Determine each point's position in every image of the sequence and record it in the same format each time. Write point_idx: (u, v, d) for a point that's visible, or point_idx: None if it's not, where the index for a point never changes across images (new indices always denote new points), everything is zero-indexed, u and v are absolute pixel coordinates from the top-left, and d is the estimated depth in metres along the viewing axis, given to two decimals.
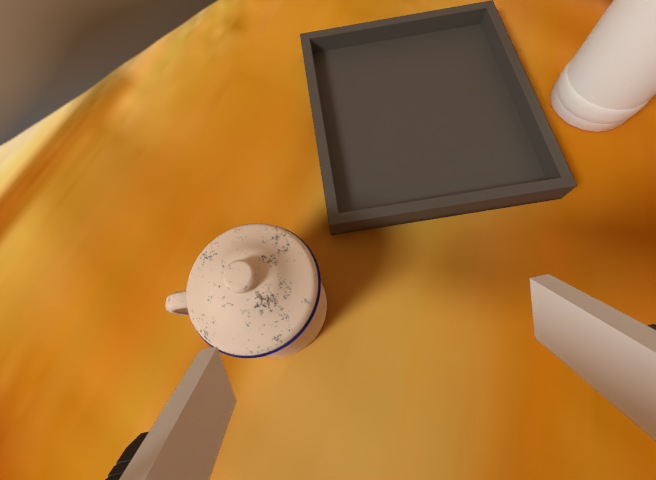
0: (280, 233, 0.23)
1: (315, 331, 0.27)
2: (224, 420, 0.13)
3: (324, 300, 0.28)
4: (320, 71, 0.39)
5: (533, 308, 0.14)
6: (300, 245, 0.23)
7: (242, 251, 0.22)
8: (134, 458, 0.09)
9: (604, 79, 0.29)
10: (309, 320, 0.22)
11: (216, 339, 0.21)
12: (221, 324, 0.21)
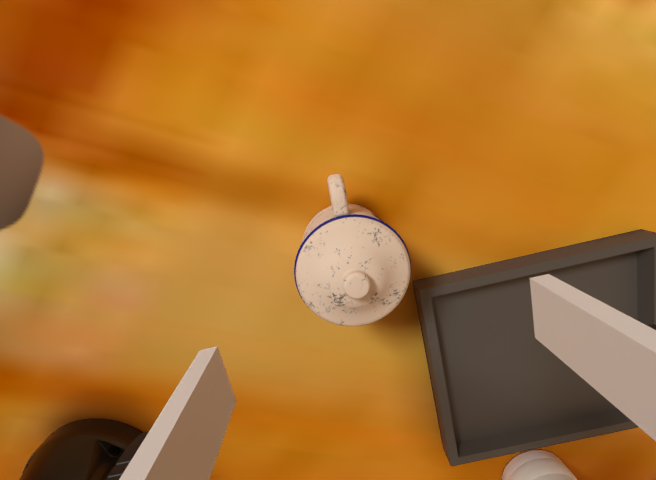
0: (400, 294, 0.26)
1: None
2: (224, 420, 0.13)
3: None
4: None
5: (533, 309, 0.14)
6: (389, 311, 0.27)
7: (380, 275, 0.24)
8: (134, 458, 0.09)
9: None
10: (328, 320, 0.27)
11: (305, 257, 0.25)
12: (317, 262, 0.25)
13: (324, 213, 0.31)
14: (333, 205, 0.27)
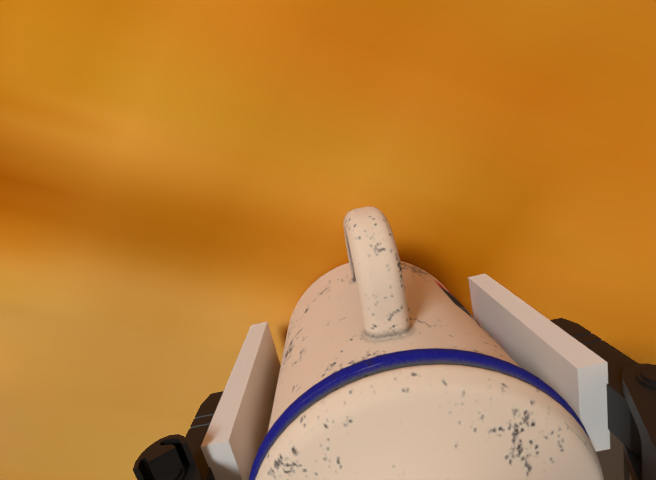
0: None
1: None
2: None
3: None
4: None
5: (473, 305, 0.15)
6: None
7: None
8: (218, 408, 0.10)
9: None
10: None
11: None
12: None
13: (334, 292, 0.13)
14: (364, 306, 0.09)
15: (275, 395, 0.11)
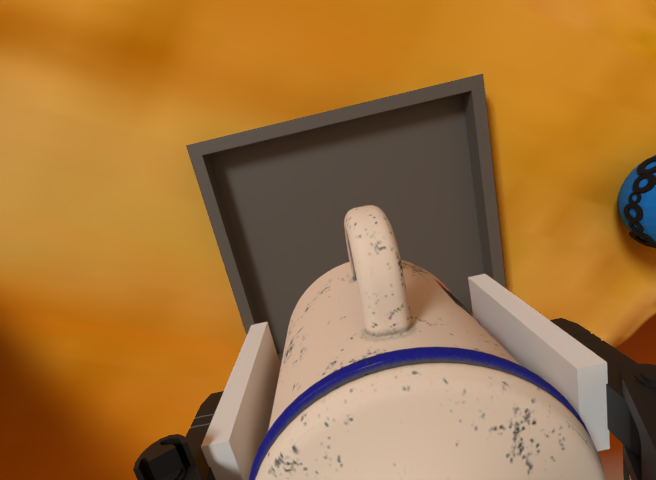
0: None
1: None
2: (276, 387, 0.14)
3: None
4: (427, 111, 0.29)
5: (473, 305, 0.15)
6: None
7: None
8: (218, 408, 0.10)
9: None
10: None
11: None
12: None
13: (334, 291, 0.13)
14: (365, 305, 0.09)
15: (275, 394, 0.11)
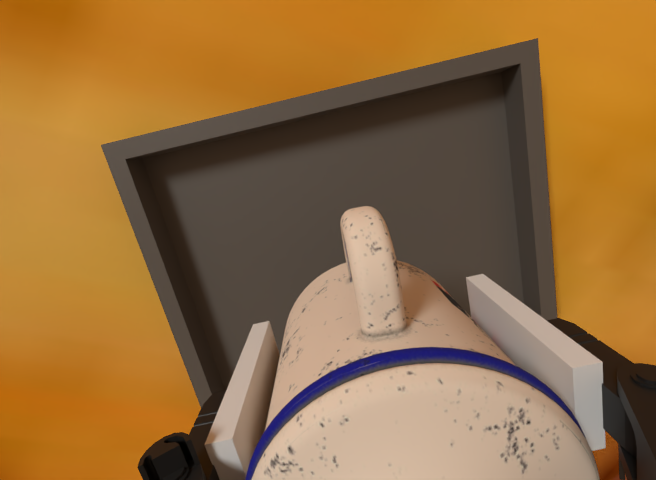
0: None
1: None
2: None
3: None
4: (452, 95, 0.20)
5: (470, 305, 0.15)
6: None
7: None
8: (221, 406, 0.10)
9: None
10: None
11: None
12: None
13: (331, 292, 0.13)
14: (361, 305, 0.09)
15: (272, 395, 0.11)
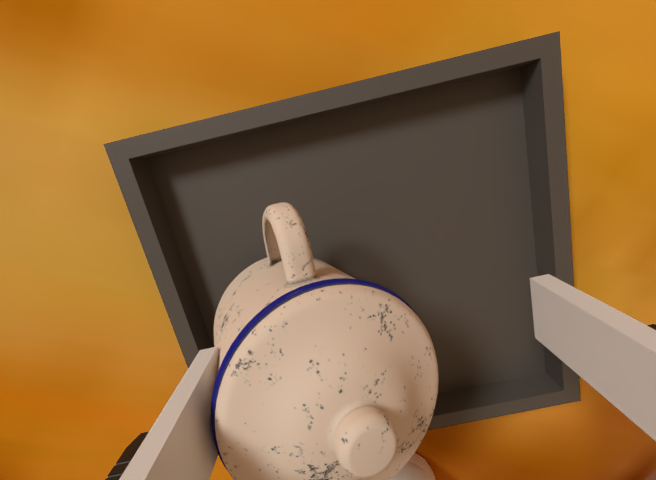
0: (426, 423, 0.14)
1: None
2: None
3: None
4: (467, 92, 0.19)
5: (533, 308, 0.14)
6: (408, 460, 0.14)
7: (403, 402, 0.12)
8: (134, 458, 0.09)
9: None
10: None
11: (238, 389, 0.11)
12: (268, 397, 0.11)
13: (256, 275, 0.17)
14: (286, 263, 0.13)
15: None
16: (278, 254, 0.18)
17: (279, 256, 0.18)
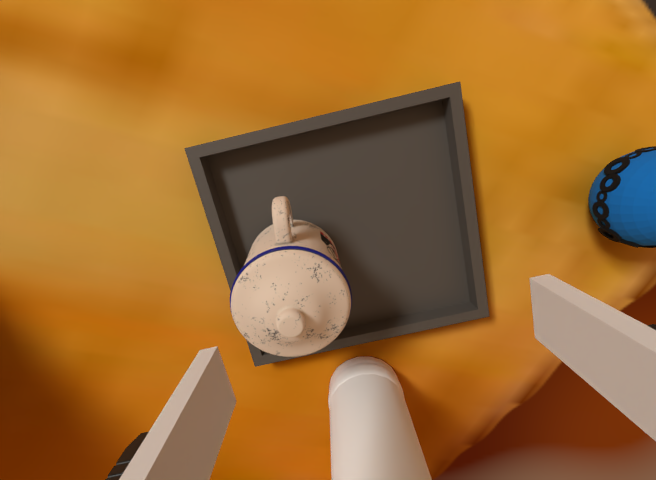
0: (338, 328, 0.26)
1: None
2: (224, 420, 0.13)
3: None
4: (410, 115, 0.31)
5: (533, 309, 0.14)
6: (326, 344, 0.26)
7: (317, 312, 0.24)
8: (134, 458, 0.09)
9: (341, 402, 0.32)
10: None
11: (240, 289, 0.24)
12: (252, 295, 0.24)
13: (270, 232, 0.29)
14: (275, 232, 0.25)
15: None
16: None
17: None
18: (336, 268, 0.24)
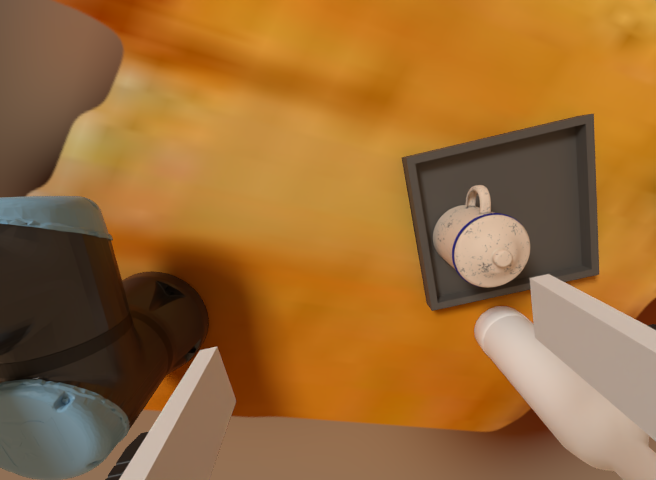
0: (521, 268, 0.40)
1: None
2: (224, 420, 0.13)
3: None
4: (552, 135, 0.45)
5: (533, 308, 0.14)
6: (512, 279, 0.40)
7: (515, 253, 0.38)
8: (134, 458, 0.09)
9: (501, 331, 0.46)
10: (468, 282, 0.41)
11: (465, 238, 0.39)
12: (474, 242, 0.39)
13: (461, 210, 0.44)
14: (481, 206, 0.40)
15: (449, 233, 0.42)
16: (469, 204, 0.45)
17: (469, 205, 0.45)
18: (523, 228, 0.39)
